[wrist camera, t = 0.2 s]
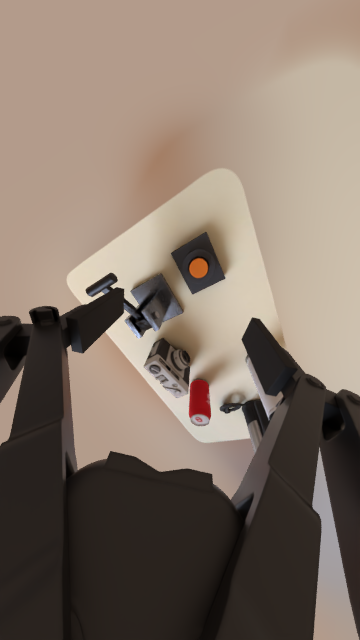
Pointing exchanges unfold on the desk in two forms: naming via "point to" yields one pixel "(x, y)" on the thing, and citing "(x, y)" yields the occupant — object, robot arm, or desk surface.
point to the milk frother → (252, 419)
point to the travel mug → (267, 400)
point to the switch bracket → (154, 304)
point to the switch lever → (105, 288)
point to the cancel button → (198, 268)
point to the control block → (192, 251)
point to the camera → (169, 367)
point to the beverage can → (199, 403)
